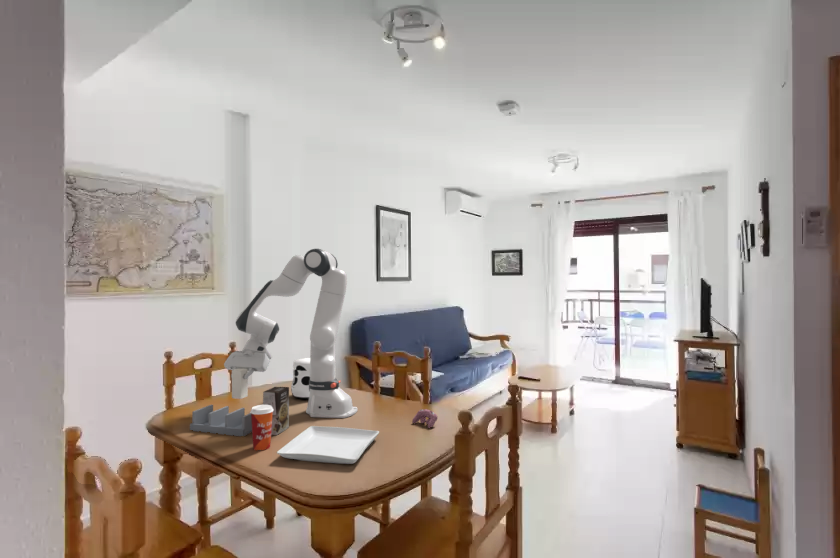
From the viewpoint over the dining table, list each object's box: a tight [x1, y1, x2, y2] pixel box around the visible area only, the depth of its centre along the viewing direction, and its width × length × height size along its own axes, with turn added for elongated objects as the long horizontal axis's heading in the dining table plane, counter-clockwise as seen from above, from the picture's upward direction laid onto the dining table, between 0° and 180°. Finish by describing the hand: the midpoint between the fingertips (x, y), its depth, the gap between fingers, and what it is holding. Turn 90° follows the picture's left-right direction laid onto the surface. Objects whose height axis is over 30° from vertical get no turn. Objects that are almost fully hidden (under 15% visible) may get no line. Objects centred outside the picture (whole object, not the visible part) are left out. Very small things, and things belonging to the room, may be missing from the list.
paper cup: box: [249, 404, 274, 451], centre depth 153 cm, size 8×8×14 cm
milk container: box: [290, 357, 310, 400], centre depth 220 cm, size 17×17×18 cm
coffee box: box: [262, 386, 290, 436], centre depth 170 cm, size 9×6×16 cm
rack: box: [189, 404, 252, 437], centre depth 172 cm, size 24×12×7 cm, turn 75°
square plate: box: [276, 425, 380, 465], centre depth 152 cm, size 27×27×4 cm
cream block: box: [231, 368, 249, 400], centre depth 191 cm, size 4×4×12 cm
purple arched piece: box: [412, 408, 438, 429], centre depth 178 cm, size 10×5×7 cm, turn 48°
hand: (238, 378), depth 190 cm, fingers closed on cream block, 4 cm apart
